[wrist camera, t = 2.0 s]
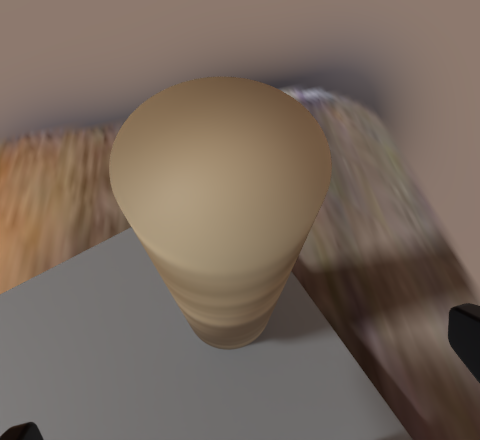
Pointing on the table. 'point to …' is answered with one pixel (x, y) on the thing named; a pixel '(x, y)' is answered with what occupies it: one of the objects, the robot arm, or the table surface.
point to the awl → (222, 197)
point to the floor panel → (171, 363)
